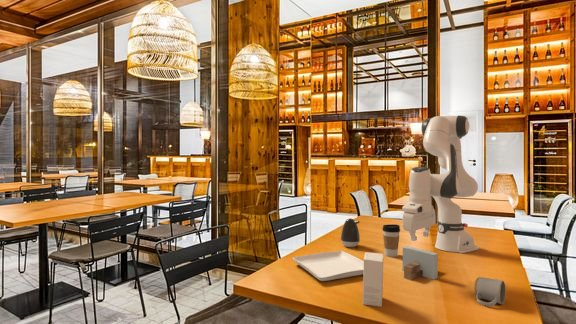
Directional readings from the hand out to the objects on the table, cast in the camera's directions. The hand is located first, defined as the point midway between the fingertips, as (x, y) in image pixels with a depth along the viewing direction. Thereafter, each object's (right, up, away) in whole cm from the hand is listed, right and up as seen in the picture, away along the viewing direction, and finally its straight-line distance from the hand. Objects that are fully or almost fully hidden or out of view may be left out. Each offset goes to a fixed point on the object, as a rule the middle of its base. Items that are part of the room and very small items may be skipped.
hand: (420, 238), depth 140 cm
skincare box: (-26, -16, -26) cm, 40 cm away
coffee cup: (-4, -15, +26) cm, 30 cm away
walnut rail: (0, -15, 0) cm, 15 cm away
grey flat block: (0, -15, 0) cm, 15 cm away
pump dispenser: (-21, -14, +43) cm, 50 cm away
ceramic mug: (+14, -16, -26) cm, 33 cm away
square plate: (-36, -15, +6) cm, 40 cm away
